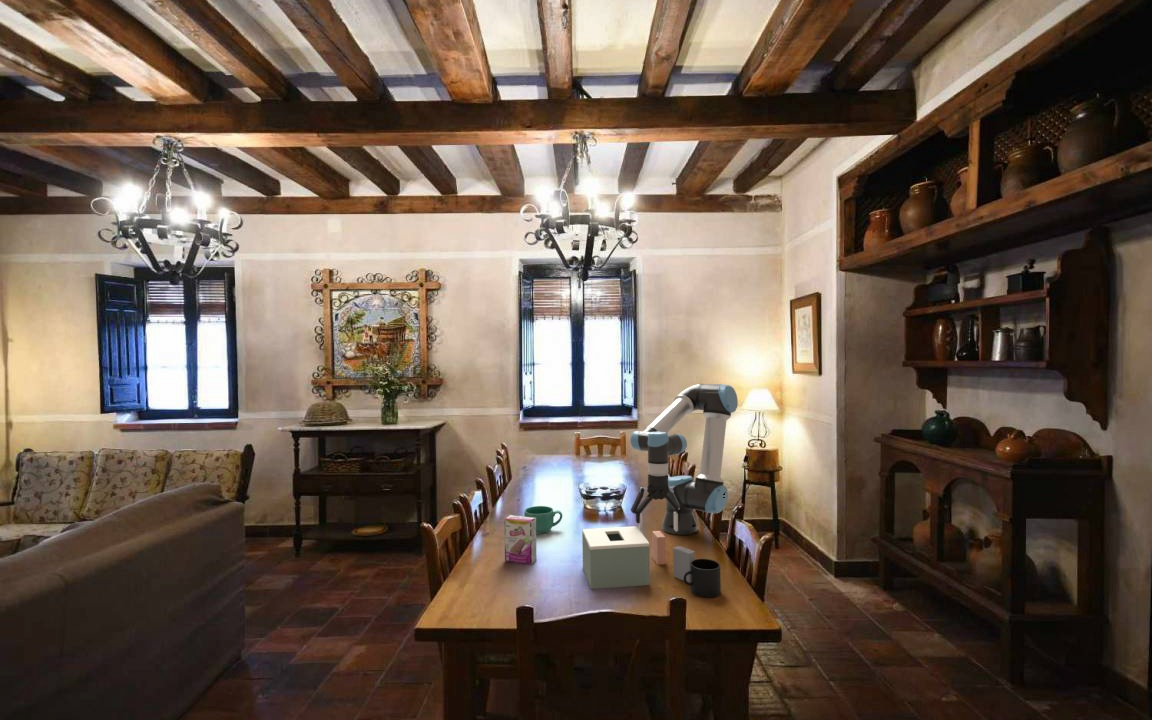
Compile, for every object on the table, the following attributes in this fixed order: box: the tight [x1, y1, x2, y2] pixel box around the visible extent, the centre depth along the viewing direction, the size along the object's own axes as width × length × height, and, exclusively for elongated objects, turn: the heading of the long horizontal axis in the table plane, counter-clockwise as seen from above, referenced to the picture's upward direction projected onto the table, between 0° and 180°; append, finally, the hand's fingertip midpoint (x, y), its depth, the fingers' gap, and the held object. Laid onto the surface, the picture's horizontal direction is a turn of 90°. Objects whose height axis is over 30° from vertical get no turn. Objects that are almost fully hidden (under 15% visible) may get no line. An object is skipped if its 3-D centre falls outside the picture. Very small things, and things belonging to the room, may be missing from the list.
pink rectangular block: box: [651, 530, 667, 566], centre depth 202 cm, size 3×7×10 cm, turn 8°
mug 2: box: [683, 558, 722, 599], centre depth 175 cm, size 9×12×9 cm
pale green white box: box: [581, 525, 651, 590], centre depth 189 cm, size 20×18×14 cm
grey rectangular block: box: [672, 545, 696, 583], centre depth 186 cm, size 3×7×10 cm, turn 38°
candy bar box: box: [504, 514, 537, 566], centre depth 203 cm, size 11×5×16 cm, turn 71°
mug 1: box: [524, 505, 563, 535], centre depth 238 cm, size 17×13×10 cm
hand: (658, 531), depth 202 cm, fingers open, 13 cm apart
